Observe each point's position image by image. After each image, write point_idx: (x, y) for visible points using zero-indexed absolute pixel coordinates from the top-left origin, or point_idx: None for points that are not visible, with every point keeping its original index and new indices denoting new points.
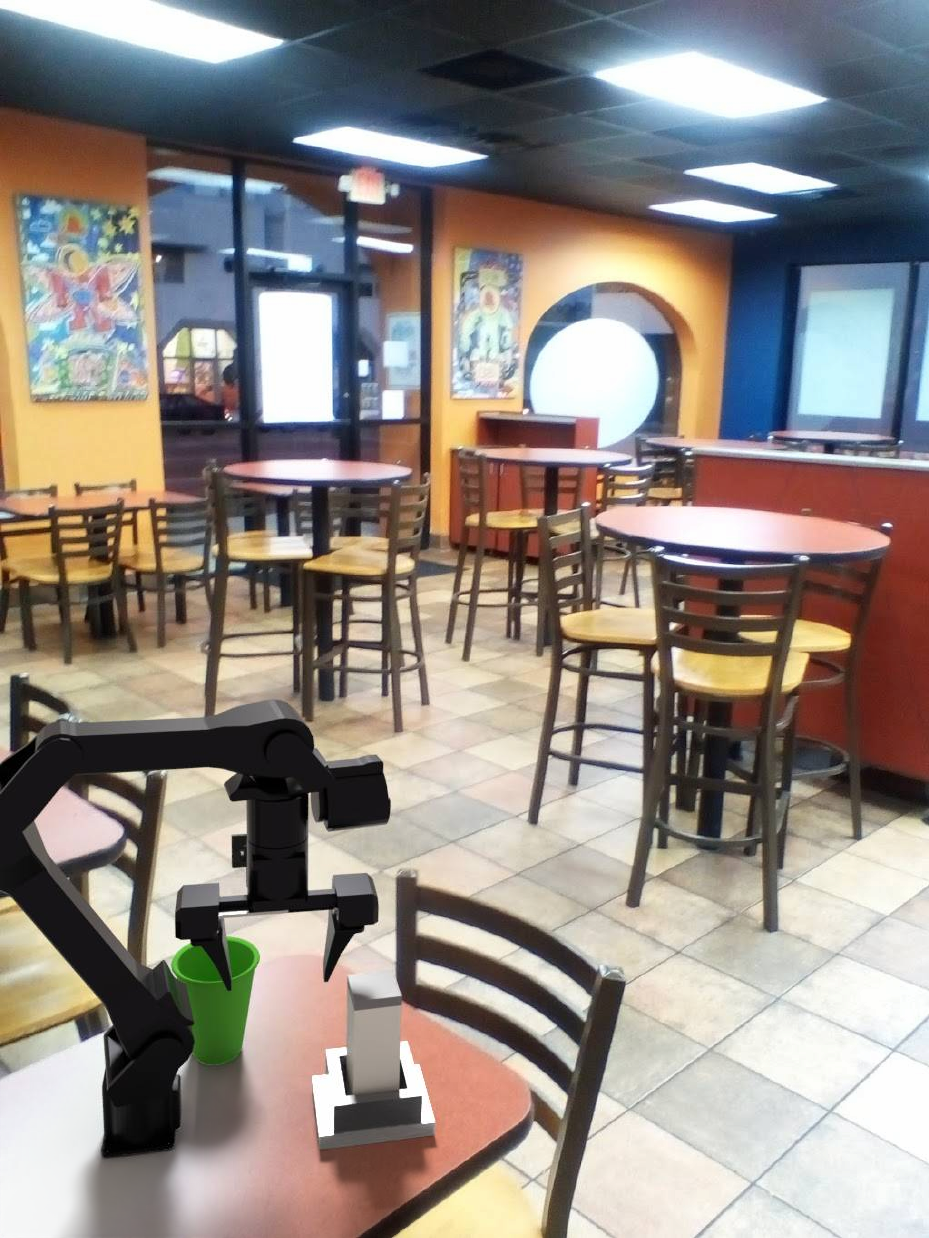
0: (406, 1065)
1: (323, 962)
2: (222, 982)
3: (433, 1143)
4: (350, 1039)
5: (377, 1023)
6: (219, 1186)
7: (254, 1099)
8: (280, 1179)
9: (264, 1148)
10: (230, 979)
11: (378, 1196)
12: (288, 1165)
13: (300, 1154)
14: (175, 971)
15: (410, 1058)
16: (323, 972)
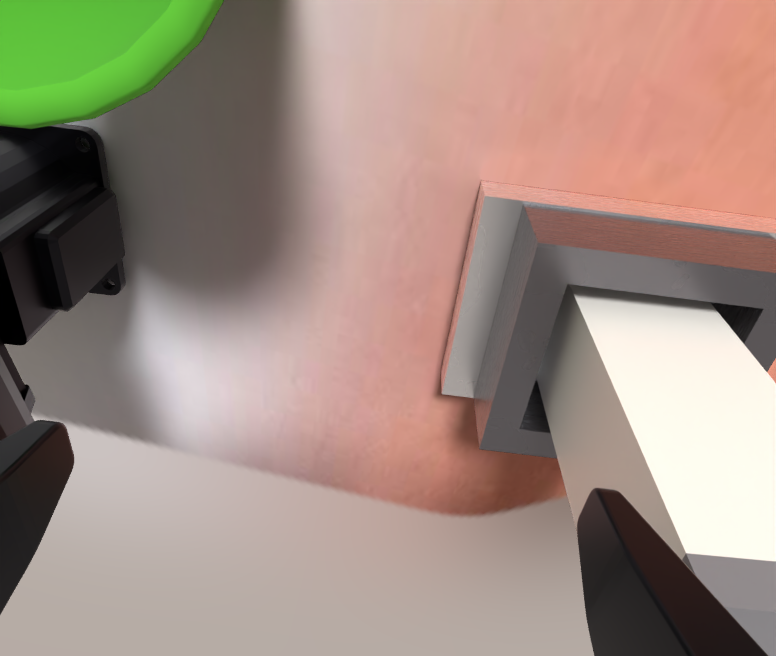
0: None
1: (620, 576)
2: (26, 126)
3: None
4: (590, 465)
5: None
6: (234, 395)
7: (316, 173)
8: (350, 411)
9: (327, 335)
10: (24, 571)
11: (511, 484)
12: (370, 387)
13: (399, 370)
14: None
15: (770, 355)
16: (596, 535)
